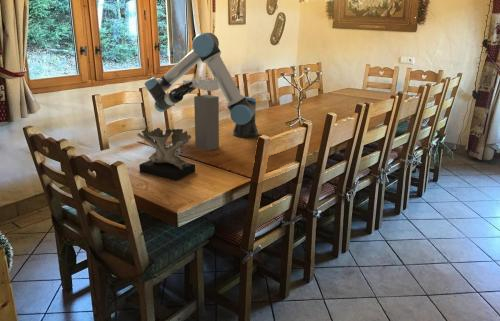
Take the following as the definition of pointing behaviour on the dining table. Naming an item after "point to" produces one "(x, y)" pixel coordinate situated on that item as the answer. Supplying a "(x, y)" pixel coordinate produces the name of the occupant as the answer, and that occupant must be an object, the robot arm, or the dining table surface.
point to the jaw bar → (205, 84)
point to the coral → (166, 155)
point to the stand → (206, 122)
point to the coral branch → (175, 150)
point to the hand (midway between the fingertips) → (199, 79)
